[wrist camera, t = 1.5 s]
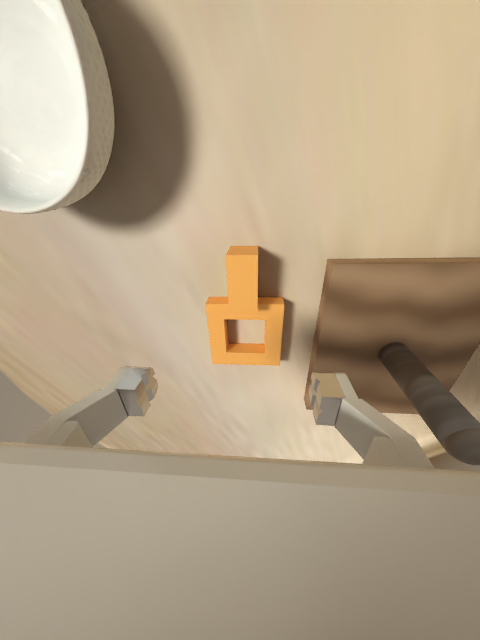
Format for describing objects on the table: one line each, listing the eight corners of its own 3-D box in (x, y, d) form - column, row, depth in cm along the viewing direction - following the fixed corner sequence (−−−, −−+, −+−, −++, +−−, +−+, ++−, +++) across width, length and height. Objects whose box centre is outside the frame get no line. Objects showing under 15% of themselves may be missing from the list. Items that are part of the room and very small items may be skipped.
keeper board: (327, 259, 24) (405, 334, 11) (509, 257, 22) (835, 341, 10) (304, 398, 35) (329, 515, 22) (424, 403, 33) (525, 531, 21)
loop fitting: (203, 246, 24) (194, 255, 21) (286, 245, 23) (291, 254, 20) (215, 354, 32) (209, 374, 28) (278, 355, 31) (280, 376, 27)
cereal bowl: (-106, 46, 18) (-293, -29, 12) (6, -170, 13) (-221, -496, 7) (63, 238, 25) (0, 253, 19) (179, 146, 20) (144, 125, 14)
